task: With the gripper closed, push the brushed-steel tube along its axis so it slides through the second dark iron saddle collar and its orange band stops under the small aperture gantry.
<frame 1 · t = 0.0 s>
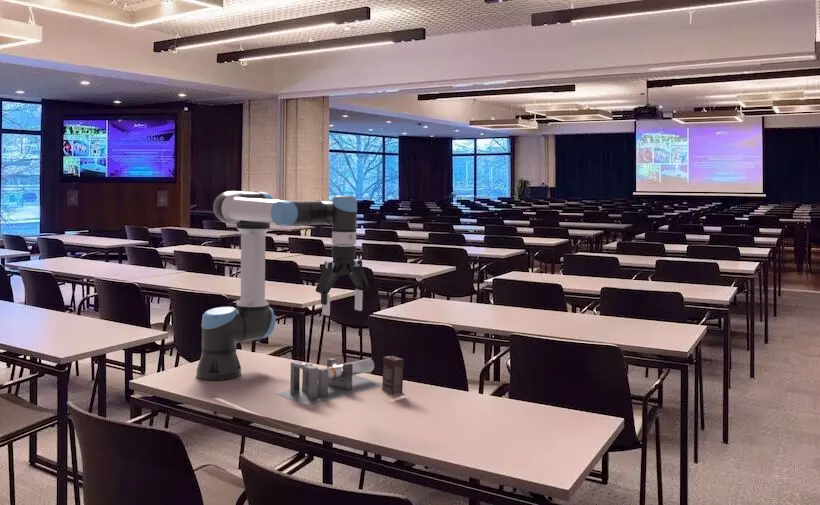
hand: (342, 312, 215), 28 cm above the table, fingers open, 13 cm apart
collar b: (314, 393, 220), resting on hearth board
box: (392, 394, 225), on the table
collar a: (339, 387, 228), resting on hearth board
tube: (346, 370, 229), point 6 cm above the table, slide at 0.0 cm
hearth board: (332, 391, 226), on the table
aperture gantry: (303, 396, 217), resting on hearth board
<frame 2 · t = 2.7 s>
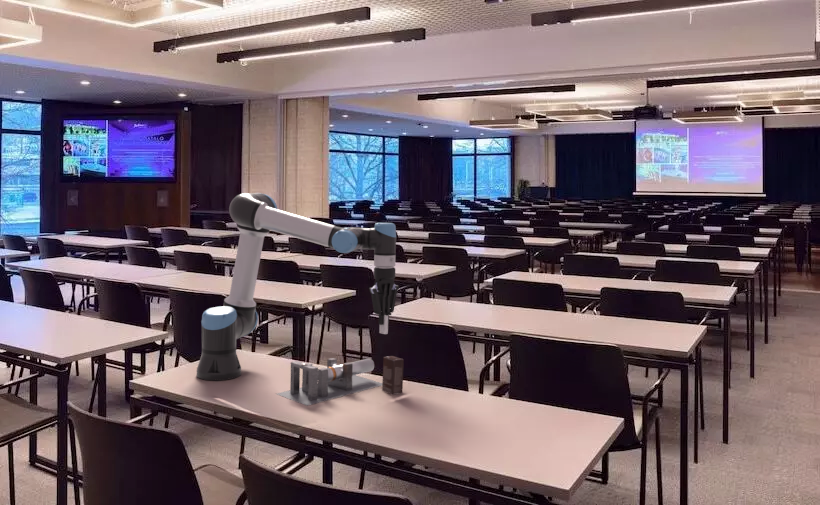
hand: (383, 333, 241), 16 cm above the table, fingers closed
nothing on the table moved.
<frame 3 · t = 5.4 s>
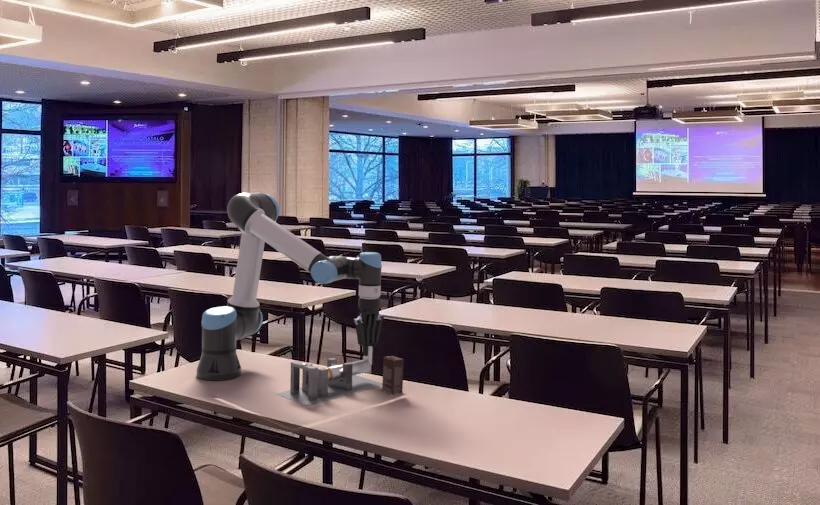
hand: (367, 364, 237), 6 cm above the table, fingers closed
tube: (342, 371, 228), point 6 cm above the table, slide at 1.7 cm, touching gripper
everything else where it was.
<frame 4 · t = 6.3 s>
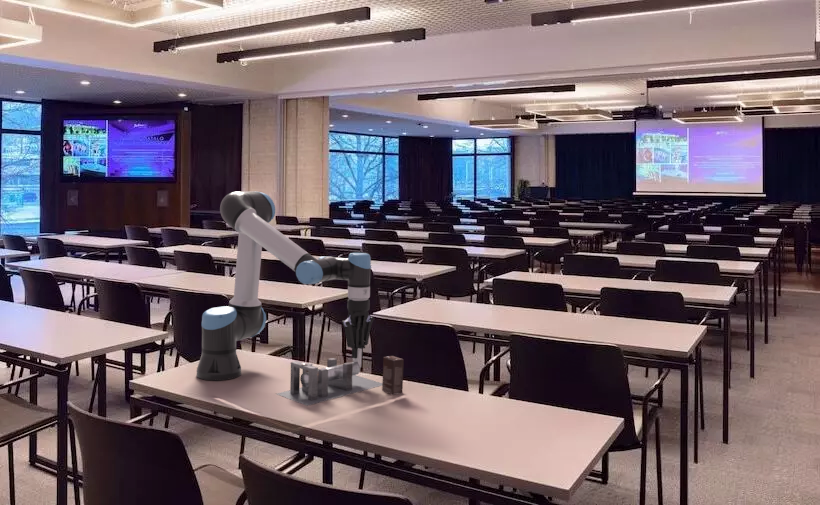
hand: (356, 366, 233), 6 cm above the table, fingers closed
tube: (331, 373, 225), point 6 cm above the table, slide at 6.7 cm, touching gripper
everything else where it was.
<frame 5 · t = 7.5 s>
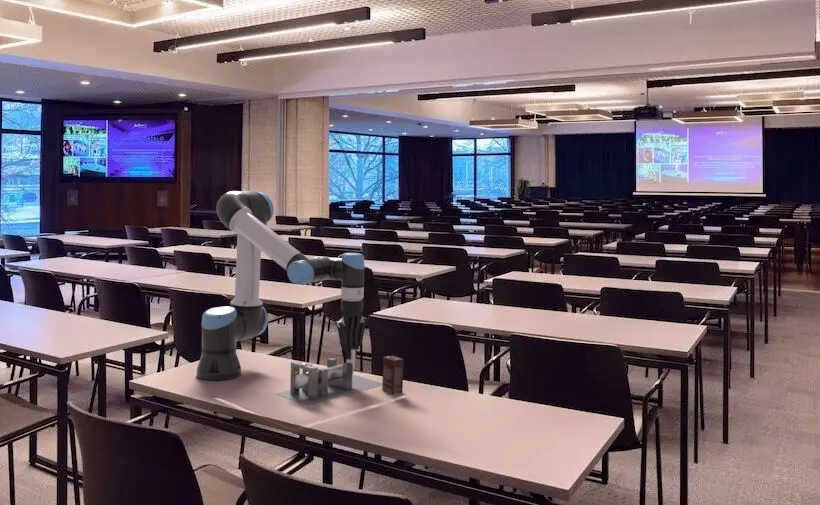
hand: (350, 368, 231), 6 cm above the table, fingers closed
tube: (324, 375, 222), point 6 cm above the table, slide at 9.7 cm, touching gripper
everything else where it was.
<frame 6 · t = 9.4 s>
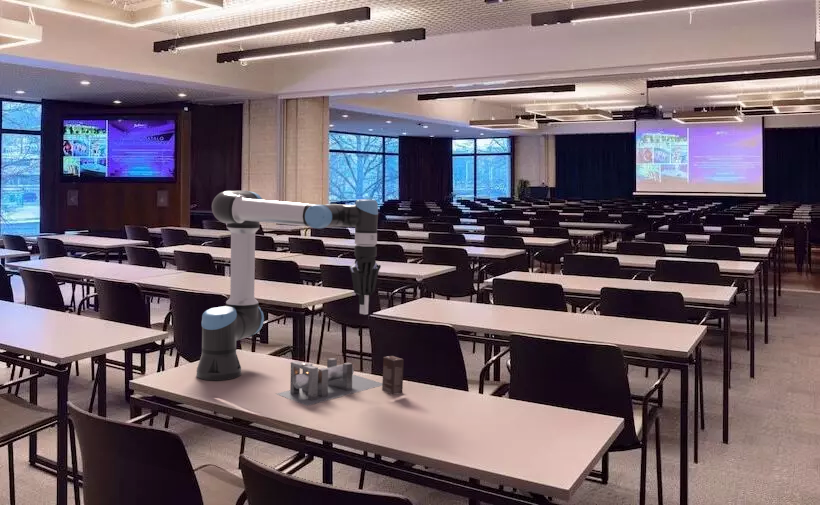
hand: (363, 313, 234), 24 cm above the table, fingers closed
tube: (324, 375, 222), point 6 cm above the table, slide at 9.7 cm
everything else where it was.
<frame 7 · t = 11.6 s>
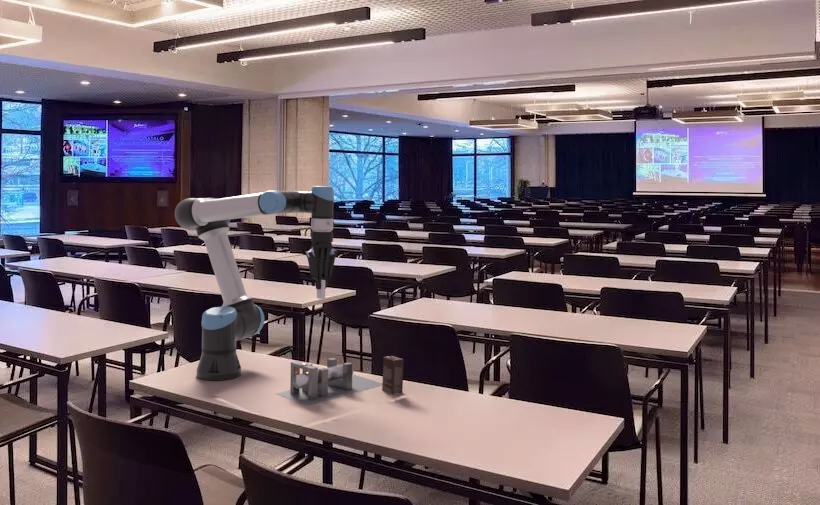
hand: (320, 298, 238), 28 cm above the table, fingers closed
nothing on the table moved.
at the end: tube slide at 9.7 cm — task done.
